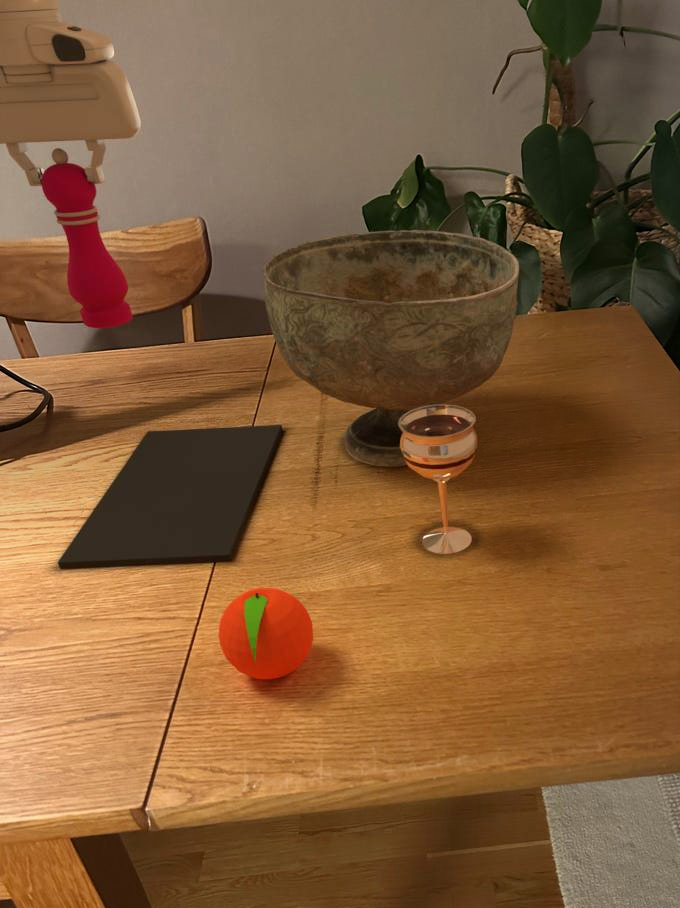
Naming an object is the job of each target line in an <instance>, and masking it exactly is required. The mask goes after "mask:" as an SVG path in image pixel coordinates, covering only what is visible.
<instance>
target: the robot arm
mask: <svg viewBox="0 0 680 908" xmlns="http://www.w3.org/2000/svg"><path fill="white" fill-rule="evenodd" d="M60 11H61V10H60V9H59V5H58V3H57V0H0V145H3V144H5V145H6V149H7V151H8V155H9V156H10V157H11V158H12V159H13V160H14V161H15V162H16V164H17V165H18V166H19V167H20V168H21V169H22V171H24V173H25V176H26V179H27V183H28V184H29V186H30V187H42V184H41V182H42V175H43V173H44V171H45V170H44V168H43V166H36V165H35V164H34V162H33V161H32V160H31V159H30V158H29V156H28V155H27V154H26V153H25V152H28V150H29V148H28V146H27V143H28V144H29V143H47V142H48V143H50V142H51V143H53V142H76V141H85V145H86V148H87V151H88V152H92V155H91V162H90V165H89V164H88V165H87V166H84V167H83V168H84V170H85V174H86V175H87V181H88V183H90V184H95V185H98V184H101V185H102V184H103V183H105V181H106V180H105V174H104V172H103V167H102V165H103V162H104V157H105V153H106V149H107V147H106V143H105V140H117V139H118V140H121V139H123V140H124V139H131V138H134V137H136V136H137V135H138V133H139V131H140V130H141V126H142V123H141V122H142V121H141V117H140V113H139V111H138V106H137V103H136V100H135V97H134V95H133V91H132V89H131V86H130V82H129V81H128V77H127V76H126V73H125V72H124V71H123V69H122V68H121V66H120V65H118V64H117V63H116V62H114V61H112V60H110V59H112V58H113V57H114V56H115V49H114V44H113V41H112V39H111V38H110V37H109V36H107V35H105V34H102V33H99V32H96V31H93V30H90V29H86V28H83V27H79V26H76V25H73V24H70V23H68V22H64V21H63V19H62V15H61V12H60Z"/></svg>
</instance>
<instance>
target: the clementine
mask: <svg viewBox="0 0 680 908" xmlns="http://www.w3.org/2000/svg"><path fill="white" fill-rule="evenodd" d="M218 640H219V641H218V642H219V646H220V648H221V650H222V652H223V654H224V656H225V658H226V659H225V660H226V661H227V662H228V663H230V664H231V665H232V666H233V667H234V668H235V669H236V670H237V671H238V672H239V673H241V674H243V675H246V676H248V677H251V678H253V679H257V680H274V679H279V678H281V677H284V676H287V675H290V674H291V673H293V672H294V671H296V670H297V669H298V668H299V667H300V666H301V665H302V664H303V662H304V661H305V660H306V658H307V657H308V656H309V654H310V650H311V647H312V644H313V641H314V628H313V621H312V619H311V616H310V614H309V611H308V610H307V608H306V607H305V606H304V605H303V604H302V602H301V601H300V600H299V599H298V598H297V597H295V596H294V595H292V594H290V593H289V592H287V591H285V590H282V589H279V588H273V587H256V588H253V589H249V590H247V591H245V592H242V593H241V594H240V595H238V596H237V597H235V598H234V599H232V601H231V602H230V603H229V604H228V605H227V607H226V608H225V610H224V612H223V614H222V615H221V617H220V622H219V627H218Z"/></svg>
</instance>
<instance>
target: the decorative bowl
mask: <svg viewBox="0 0 680 908" xmlns="http://www.w3.org/2000/svg"><path fill="white" fill-rule="evenodd" d="M261 270H262V271H261V273H262V278H263V284H264V293H265V296H264V301H265V309H266V312H267V316H268V321H269V325H270V330H271V333H272V336H273V338H274V339H273V340H274V341H275V344H276V346H277V348H278V351H279V352H280V354H281V357H282V358H283V361H284V362H285V363H286V364H287V365H288V367H289V368H290V370H291V371H292V372H293V373H294V375H295V376H296V377H298V378H299V379H301V380H303V382H305V383H307V384H309V385H310V386H312V387H313V388H315V389H316V390H318V391H319V392H320V393H321V394H323V395H326V396H328V397H331V398H334V399H336V400H337V401H340V402H343V403H347V404H351V405H356V406H361V407H365V408H369V409H372V410H370V411H368V412H365V413H363V414H361V415H360V416H358V417H357V418H356V419H355V420H354V421H353V422H352V423H350V424H349V426H348V428H347V429H346V431H345V433H344V445H345V447H344V448H345V449H346V451H347V453H348V454H349V456H350V457H351V458H353V459H354V460H356V461H358V462H361V463H364V464H367V465H371V466H376V467H387V468H388V467H389V468H391V467H393V468H394V467H403V466H408V465H407V463H406V461H405V459H404V458H403V456H402V454H401V449H400V440H401V435H402V433H403V431H402V430H401V429H400V427H399V426H398V422H399V419H400V418H401V417H402V415H403V414H405V413H407V412H409V411H410V410H413V409H416V408H419V407H423V406H428V405H439V404H445V403H447V402H449V401H452V400H456V399H457V398H460V397H462V396H464V395H466V394H468V393H470V392H472V391H473V390H475V389H477V388H479V387H481V386H482V385H483V384H485V383H487V381H489V380H490V379H491V378H492V377H493V376H494V374H495V373H496V372H497V371H498V369H499V368H500V366H501V365H502V362H503V359H504V357H505V354H506V353H507V350H508V348H509V344H510V341H511V338H512V334H513V330H514V323H515V320H516V318H517V310H518V301H517V300H518V299H517V298H518V286H519V274H520V262H519V261H518V259H517V257H516V256H515V255H514V254H512V252H510V251H509V250H507V249H505V248H504V247H503V246H501V245H499V244H497V243H495V242H492V241H490V240H487V239H485V238H482V237H477V236H472V235H469V234H464V233H457V232H448V231H447V232H446V231H441V230H422V229H421V230H420V229H412V230H406V229H401V230H380V231H365V232H358V233H348V234H339V235H330V236H326V237H325V236H324V237H321V238H318V239H314V240H313V241H309V240H308V241H306V242H305V243H301V244H297V245H296V246H295V247H290V248H286V249H285V250H284V251H283V252H282V253H280V254H274V255H272V256H271V257H270V258H269V260H266V261H265V263H264V264H263V266H262V269H261Z"/></svg>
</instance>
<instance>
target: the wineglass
mask: <svg viewBox="0 0 680 908" xmlns="http://www.w3.org/2000/svg"><path fill="white" fill-rule="evenodd" d="M476 417H477V416H476V415H475V413H474V412H473V411H472V410H470V409H468V408H466V407H465V406H461V405H456V404H446V403H442V404H439V405H428V406H423V407H419V408H416V409H413V410H410V411H409V412H407V413H405V414H403V415H402V417H401V418H400V419H399V422H398V426H399V427H400V429H401V430H402V431H403V433H402V435H401V440H400V449H401V454H402V456H403V458H404V459H405V461H406V463H407V465H406V466H408V468H409V469H411V470H413V472H416V474H418V475H420V476H422V477H423V478H426V479H429V480H433V481H434V482H436V483H437V487H438V488H437V489H438V495H439V496H438V497H439V502H440V503H439V504H440V511H441V518H442V519H441V520H442V527H438V528H434V529H432V530H430V531H429V532H427V533H425V534H424V535H423V537H422V539H421V544H422V546H423V548H424V549H426V551H428V552H432V553H433V554H441V555H444V554H445V555H448V554H454V553H458V552H461V551H463V550H465V549H466V548H467V547H469V546H470V545H471V543H472V540H473V539H472V535H471V533H470V532H469V531H467V530H466V529H463V528H461V527H455V526H449V518H448V517H449V515H448V513H449V512H448V490H447V489H448V488H447V482H449V481H450V479H451V478H455V477H457V476H459V475H460V474H461V473H463V472H464V471H465V470H466V469H467V468H468V467H469V466H470V465H471V464H472V463H473V461H474V459H475V457H476V454H477V452H478V434H477V431H476V430H475V428H474V425H475V424H476V422H477V421H476V419H477V418H476Z"/></svg>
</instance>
